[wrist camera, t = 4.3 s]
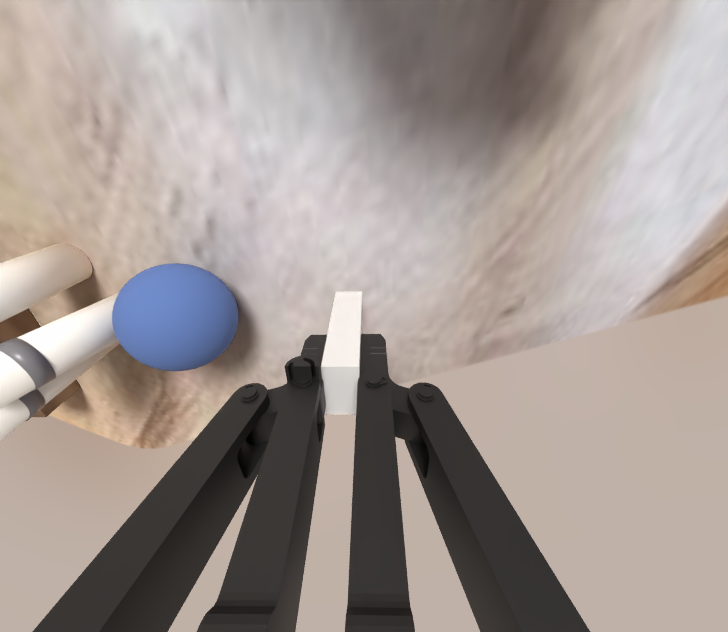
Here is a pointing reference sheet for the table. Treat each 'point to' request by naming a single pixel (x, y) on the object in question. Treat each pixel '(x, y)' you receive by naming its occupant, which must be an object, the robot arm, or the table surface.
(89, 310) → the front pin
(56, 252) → the pin
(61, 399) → the back wall
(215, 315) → the ball
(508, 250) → the table surface
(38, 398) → the pin
